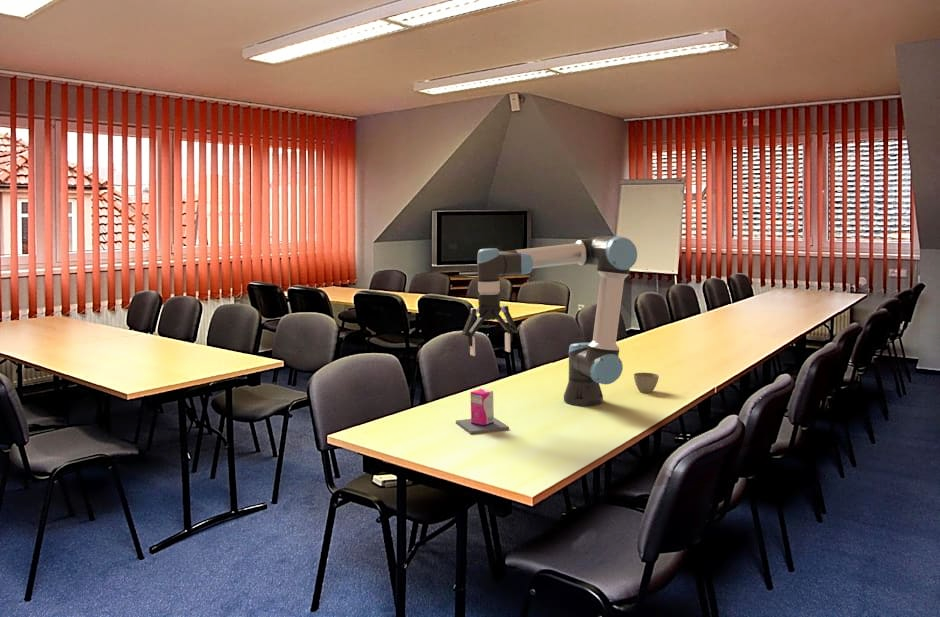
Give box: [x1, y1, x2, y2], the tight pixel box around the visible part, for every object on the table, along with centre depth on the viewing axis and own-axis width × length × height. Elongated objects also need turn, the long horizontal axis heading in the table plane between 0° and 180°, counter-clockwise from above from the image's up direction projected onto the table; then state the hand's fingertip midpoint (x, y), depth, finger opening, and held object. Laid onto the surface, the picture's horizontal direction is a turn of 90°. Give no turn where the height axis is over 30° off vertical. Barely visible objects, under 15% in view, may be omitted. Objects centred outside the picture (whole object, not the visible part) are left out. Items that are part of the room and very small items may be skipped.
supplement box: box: [470, 388, 495, 427], centre depth 253 cm, size 6×6×12 cm
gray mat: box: [455, 417, 510, 435], centre depth 253 cm, size 14×14×1 cm
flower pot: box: [633, 372, 659, 394], centre depth 302 cm, size 10×10×7 cm
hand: (490, 353), depth 259 cm, fingers open, 13 cm apart
